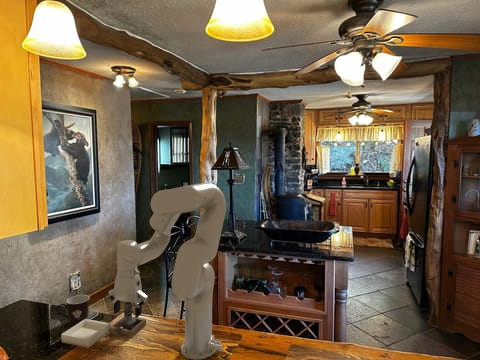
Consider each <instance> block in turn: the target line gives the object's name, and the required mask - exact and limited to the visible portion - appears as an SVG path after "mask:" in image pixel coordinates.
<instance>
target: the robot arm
mask: <svg viewBox="0 0 480 360" xmlns="http://www.w3.org/2000/svg"><path fill="white" fill-rule="evenodd" d="M150 207H151V208H150V209H151V211H152V212H153V214H152V215H151V217H150V219H149V225H150V226H151V228H152V229H153V230H154V233H153V235H152V236H151V237H150V239H149V240H146V241H143V242H141V243H138V242H137V241H135V240H133V239H130V240H129V239H126V240H125V239H124V240H122V241H119V242H118V243H117V245H116V247H117V249H116V251H117V253H116V255H117V257H116V258H117V259H116V263H117V264H116V265H117V272H116V273H117V274H116V276H115V280H114V288H112V289H110V290H108V291H107V293H108V296H109V299H110V300H111V303H112V304H113V314H118V313H119V312H121V301H122V302H125V303H127V302H131V303H132V304H134V305H135V308H134V311H135V312H134V314H135V315H134V317H136V318H139V317H140V316H141V315H142V311H143V310H142V306H143V305H144V304H145V303H146V301H147V299H148V295H146V294H145V293H144V292H143V290H142V289H143V288H142V281H141V276H140V273H141V271H140V270H139V268H138V266H141V265H143V264H146V263H148V262H150V261H152V260H155V259H157V258H158V257H160V256H161V255H162V254H163V253H164V251H165V249H166V248H167V246H168V245H169V243H170V240H171V233H172V231H171V230H172V228H174V225H175V224H176V222H177V220H178V219H179V217H180V216H181V214H183V213H190V212H195V211H198V210H202V212H201V214H200V217H199V219H198V221H197V226H196V231H195V234H194V236H193V238H191V239H189V240H186V241H185V242H183V244H182V245H180V247H179V248H178V250H177V254H176V258H175V264H174V268H173V273H172V276H171V277H172V278H171V290H172V293H173V295H174V297H175V298H177V299H178V300H180V301H183V302H184V301H185V302H184V313H185V314H184V324H185V325H184V341H183V343H182V344H181V345H180V353H181V355H182V356H183V357H185V358H187V359H190V360H204V359H207V358H209V357H211V356H213V355H214V354H215V352H216V351H218V352H222V351H223V344H222V341H220V340H216V339H215V334H213V293H214V286H215V281H216V279H215V278H216V277H215V275H216V274H215V271H214V268H213V266H212V265H211V264H210V263H209V262H211V261H212V260H213V259H215V258H216V256H217V253H218V248H219V245H220V240H221V234H222V230H223V226H224V220H225V217H226V214H227V213H226V212H227V200H226V197H225V195H224V192H222V190H221V189H220V188H219V186H217V185H215V184H213V183H210V182H209V183H208V182H202V183H195V184H189V185H184V186H180V187H174V188H171V189H170V188H169V189H163V190H159V191H156V192H155V193H154V194H153V195H152V197H151V200H150Z"/></svg>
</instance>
